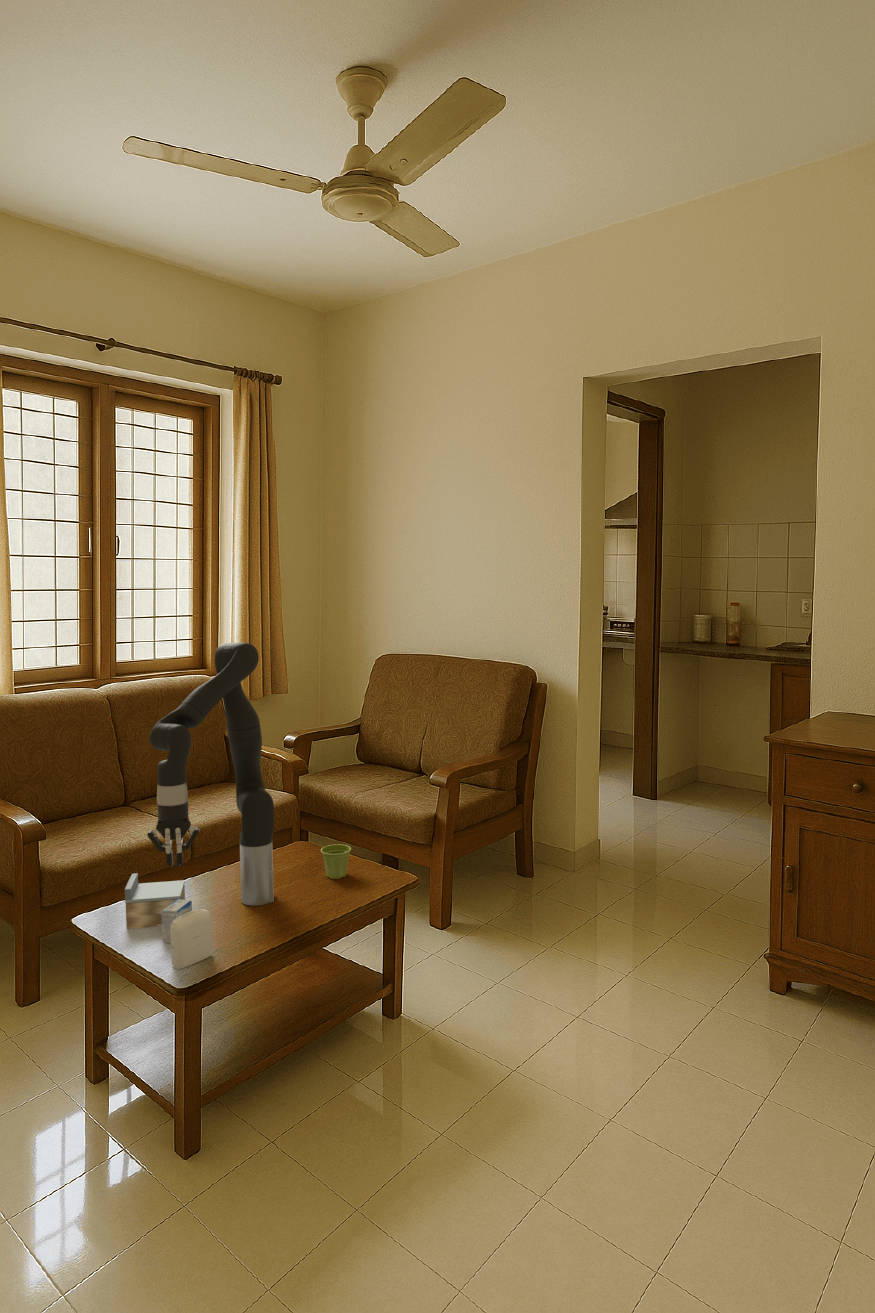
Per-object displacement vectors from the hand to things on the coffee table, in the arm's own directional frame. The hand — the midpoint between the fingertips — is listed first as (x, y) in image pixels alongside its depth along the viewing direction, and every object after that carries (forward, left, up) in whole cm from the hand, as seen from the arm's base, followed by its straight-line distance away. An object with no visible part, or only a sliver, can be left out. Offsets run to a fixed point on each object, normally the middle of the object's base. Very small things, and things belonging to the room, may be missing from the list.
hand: (175, 866), depth 211 cm
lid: (+7, -13, -12) cm, 19 cm away
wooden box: (+7, -13, -19) cm, 24 cm away
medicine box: (0, 0, -19) cm, 19 cm away
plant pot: (-44, -36, -19) cm, 60 cm away
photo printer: (-5, +15, -19) cm, 25 cm away
